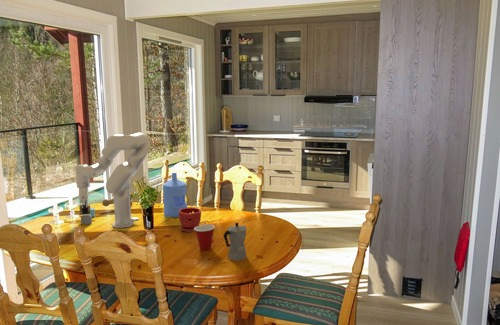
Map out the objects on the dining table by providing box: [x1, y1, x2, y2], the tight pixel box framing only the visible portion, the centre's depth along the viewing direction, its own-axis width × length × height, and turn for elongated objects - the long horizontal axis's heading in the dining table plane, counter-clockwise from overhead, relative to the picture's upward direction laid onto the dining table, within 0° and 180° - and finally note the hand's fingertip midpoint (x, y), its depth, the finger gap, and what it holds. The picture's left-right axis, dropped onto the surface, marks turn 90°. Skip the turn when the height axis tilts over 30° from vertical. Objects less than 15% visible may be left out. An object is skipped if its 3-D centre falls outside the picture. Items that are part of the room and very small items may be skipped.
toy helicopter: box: [101, 194, 133, 208], centre depth 289 cm, size 8×21×14 cm, turn 133°
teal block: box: [86, 207, 96, 218], centre depth 274 cm, size 4×6×5 cm
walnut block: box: [79, 203, 91, 216], centre depth 258 cm, size 6×4×5 cm
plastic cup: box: [194, 224, 216, 251], centre depth 217 cm, size 11×11×12 cm
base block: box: [80, 214, 93, 225], centre depth 259 cm, size 6×4×5 cm
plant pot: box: [178, 207, 202, 233], centre depth 246 cm, size 13×13×12 cm
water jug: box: [162, 172, 188, 218], centre depth 274 cm, size 16×16×28 cm
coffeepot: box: [223, 222, 247, 262], centre depth 204 cm, size 15×9×18 cm, turn 137°
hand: (85, 212), depth 258 cm, fingers closed on walnut block, 4 cm apart
